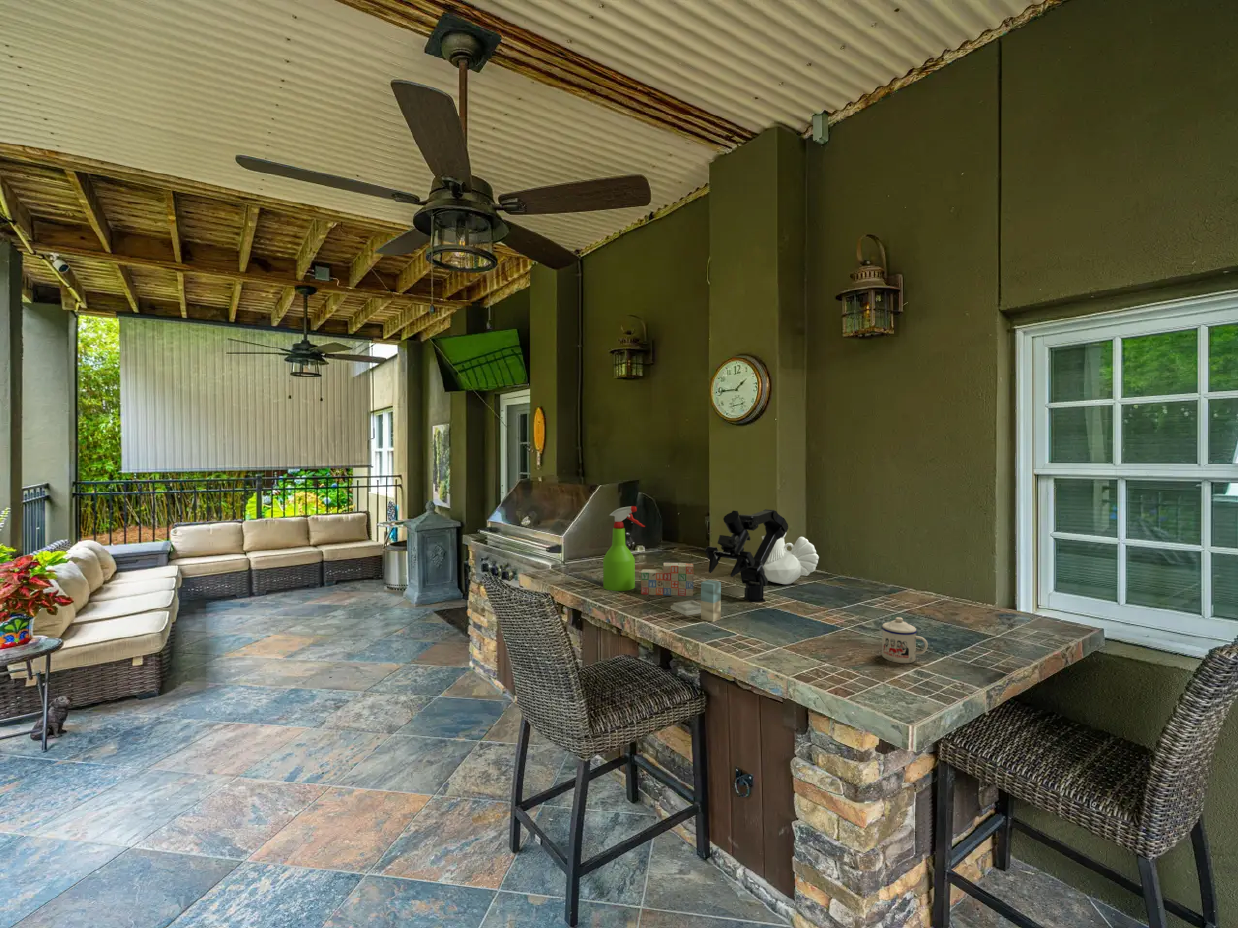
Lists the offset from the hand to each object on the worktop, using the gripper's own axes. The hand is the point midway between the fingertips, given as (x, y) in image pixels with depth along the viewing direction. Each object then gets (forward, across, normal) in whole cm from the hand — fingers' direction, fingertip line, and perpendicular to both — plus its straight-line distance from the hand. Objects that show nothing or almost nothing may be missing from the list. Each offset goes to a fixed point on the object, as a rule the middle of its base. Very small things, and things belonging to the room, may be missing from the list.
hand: (720, 574), depth 217 cm
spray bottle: (+5, -52, +15) cm, 54 cm away
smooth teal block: (+16, +1, +5) cm, 16 cm away
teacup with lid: (+13, +64, +7) cm, 66 cm away
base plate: (+13, -11, +8) cm, 18 cm away
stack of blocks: (+2, -32, +18) cm, 37 cm away
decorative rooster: (-34, -2, +50) cm, 60 cm away
